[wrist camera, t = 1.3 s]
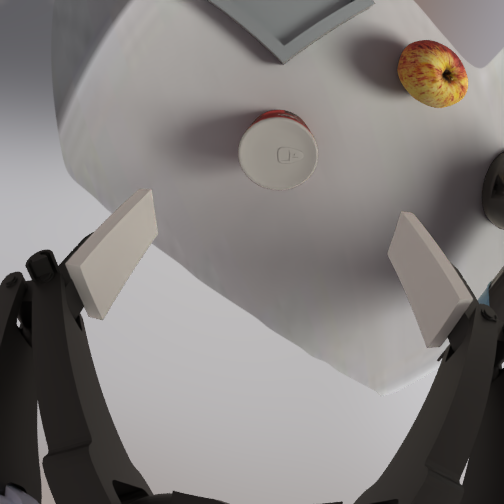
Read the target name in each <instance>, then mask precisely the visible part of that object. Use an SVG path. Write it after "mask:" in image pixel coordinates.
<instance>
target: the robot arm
mask: <svg viewBox="0 0 504 504" xmlns="http://www.w3.org/2000/svg"><path fill="white" fill-rule="evenodd" d="M482 202H483V208H484V212H485V214H486V216H487V218H488V219H489V220H490V221H491V222H492V223H493V224H494V225H495V226H496V227H498V228H500V229H503V230H504V152H503V153H502V154H500V155H499V156H498V157H497V158H496V159H495V160H494V161H493V163H492V164H491V166H490V168H489V170H488V172H487V175H486V178H485V181H484V185H483V193H482ZM157 235H158V230H157V224H156V217H155V210H154V203H153V195H152V189H139V190H138V191H136V192H135V193H134V194H133V195H132V196H131V197H130V198H129V199H128V200H127V201H125V202H124V203H123V204H122V205H121V206H120V207H119V208H118V209H117V210H116V211H115V212H114V213H113V214H112V215H111V216H110V217H109V218H108V219H107V220H106V221H105V222H104V223H103V224H102V225H101V226H100V227H99V228H98V229H97V230H96V231H95V232H93V233H91V234H89V235H88V236H86V237H85V238H84V239H83V240H82V241H81V242H80V243H79V244H78V246H76V247H75V248H74V249H73V251H71V253H70V254H69V255H68V256H67V257H66V258H65V259H64V260H63V261H62V263H61V264H60V265H59V266H58V265H57V262H56V260H55V257H54V254H53V252H52V251H51V250H42V251H39V252H37V253H35V254H34V255H32V256H31V257H30V258H29V259H28V260H27V262H26V268H27V270H28V272H29V274H30V276H31V278H32V280H31V281H25V279H24V277H23V275H22V273H21V272H14V273H10V274H9V275H8V276H6V278H5V279H4V280H3V281H2V283H1V285H0V504H41V499H42V495H41V477H40V467H39V456H38V439H37V401H38V404H39V409H40V415H41V419H42V424H43V429H44V432H45V437H46V441H47V444H48V450H49V451H48V454H47V455H46V456H45V457H44V458H43V463H42V464H43V469H44V473H45V476H46V479H47V482H48V485H49V487H50V490H51V493H52V495H53V498H54V500H55V503H56V504H228V503H226V502H223V501H219V500H215V499H209V498H204V497H198V496H193V495H189V494H184V493H180V492H175V491H173V493H172V494H170V493H169V494H168V493H167V494H157V495H153V493H152V491H151V490H150V488H149V486H148V485H147V483H146V481H145V480H144V478H143V477H142V475H141V474H140V473H139V471H138V470H137V469H136V468H135V467H134V466H133V464H132V463H131V461H130V459H129V457H128V455H127V453H126V451H125V449H124V446H123V444H122V442H121V440H120V437H119V435H118V433H117V430H116V428H115V426H114V423H113V421H112V418H111V415H110V413H109V410H108V407H107V405H106V402H105V399H104V397H103V393H102V390H101V387H100V384H99V381H98V378H97V374H96V371H95V368H94V364H93V360H92V357H91V353H90V349H89V345H88V340H87V336H86V332H85V327H84V322H83V318H82V316H81V314H80V312H81V311H82V309H83V307H84V308H85V310H86V312H87V314H88V316H89V317H92V318H96V319H100V320H103V319H104V318H105V316H106V314H107V313H108V311H109V309H110V307H111V306H112V304H113V302H114V301H115V299H116V297H117V296H118V294H119V293H120V291H121V289H122V288H123V286H124V284H125V283H126V281H127V280H128V278H129V276H130V275H131V273H132V272H133V270H134V269H135V267H136V266H137V264H138V263H139V261H140V259H141V258H142V257H143V255H144V254H145V252H146V251H147V249H148V248H149V246H150V245H151V243H152V242H153V240H154V239H155V238H156V236H157ZM387 255H388V257H389V259H390V261H391V263H392V265H393V267H394V269H395V271H396V273H397V275H398V278H399V280H400V282H401V284H402V286H403V289H404V291H405V293H406V295H407V298H408V300H409V303H410V305H411V307H412V310H413V312H414V315H415V317H416V320H417V322H418V325H419V327H420V330H421V333H422V335H423V338H424V341H425V344H426V347H427V348H432V347H440V346H441V345H442V344H443V343H444V341H445V340H446V339H447V337H448V339H449V342H450V344H449V346H448V347H447V348H446V350H445V351H444V352H443V353H442V354H441V356H440V357H439V358H438V360H437V361H440V360H441V358H443V359H442V362H441V364H440V367H439V369H438V372H437V375H436V377H435V379H434V382H433V384H432V386H431V389H430V391H429V394H428V396H427V398H426V400H425V402H424V404H423V406H422V408H421V410H420V412H419V414H418V416H417V418H416V420H415V422H414V424H413V426H412V427H411V429H410V431H409V433H408V435H407V436H406V438H405V440H404V441H403V443H402V445H401V447H400V448H399V450H398V451H397V453H396V455H395V456H394V458H393V459H392V461H391V462H390V464H389V465H388V467H387V468H386V470H385V471H384V472H383V474H382V475H381V477H380V478H379V480H378V481H377V482H376V483H375V484H374V485H372V486H371V487H370V488H369V489H367V490H366V491H365V492H364V493H363V494H362V495H361V496H360V497H359V498H358V499H357V500H356V501H355V503H354V504H504V368H503V369H502V363H503V362H504V266H503V268H502V269H501V270H500V271H499V273H498V274H497V275H496V277H495V278H494V279H493V280H492V281H491V282H490V283H489V284H488V286H487V288H486V290H485V291H484V292H483V294H482V295H481V296H480V298H479V299H478V301H477V299H476V297H475V296H474V294H473V292H472V291H471V289H470V287H469V286H468V285H467V283H466V281H465V280H464V279H463V276H462V275H461V273H460V272H459V270H458V269H457V268H456V267H455V266H454V265H453V264H451V263H450V262H449V260H448V259H447V257H446V256H445V254H444V253H443V252H442V250H441V249H440V247H439V246H438V245H437V243H436V242H435V241H434V239H433V238H432V237H431V235H430V234H429V233H428V231H427V230H426V229H425V228H424V226H423V225H422V224H421V222H420V221H419V220H418V219H417V218H416V216H415V215H414V214H413V213H410V212H404V211H401V213H400V216H399V220H398V223H397V226H396V229H395V232H394V235H393V238H392V241H391V244H390V247H389V250H388V253H387ZM17 318H18V320H19V321H20V323H21V324H20V327H18V326H17V324H16V323H17ZM468 458H469V460H468ZM467 461H468V465H467V469H466V473H465V477H464V481H463V485H461V484H460V482H459V480H460V477H461V475H462V472H463V470H464V468H465V466H466V463H467ZM342 503H343V502H334V503H325V504H342Z"/></svg>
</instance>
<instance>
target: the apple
mask: <svg viewBox="0 0 504 504" xmlns="http://www.w3.org/2000/svg"><path fill="white" fill-rule="evenodd" d="M397 71H398V76H399V78H400V81H401V83H402V85H403V86H404V88H405V89H406V90H407V91H408V92H409V94H410V95H411V96H412V97H414V98H415V99H416V100H418V101H420V102H421V103H423V104H426V105H428V106H431V107H435V108H442V107H447V106H450V105H453V104H455V103H457V102H459V101H460V100H461V99H463V97H464V96H465V94H466V92H467V89H468V78H467V74H466V71H465V68H464V66H463V64H462V62H461V60H460V59H459V58H458V56H457V55H456V54H455V53H454V52H453V51H452V50H451V49H449V48H448V47H446V46H444V45H442V44H440V43H438V42H435V41H430V40H422V41H417V42H413V43H411V44H409V45H408V46H407V47H406V48H405V49H404V50H403V52H402V54H401V56H400V60H399V63H398V68H397Z"/></svg>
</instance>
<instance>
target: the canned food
mask: <svg viewBox="0 0 504 504" xmlns="http://www.w3.org/2000/svg"><path fill="white" fill-rule="evenodd" d="M238 158H239V163H240V166H241V168H242V170H243V172H244V173H245V175H246V176H247V177H248V178H249V179H250V180H251V181H253V182H254V183H256V184H257V185H259V186H261V187H263V188H267V189H271V190H287V189H291V188H294V187H296V186H299V185H301V184H302V183H303V182H305V181H306V180H307V179H308V178H309V177H310V176H311V175H312V173H313V172H314V170H315V168H316V165H317V161H318V147H317V144H316V141H315V139H314V137H313V135H312V133H311V132H310V130H309V129H308V127H307V126H306V124H305V123H304V122H303V121H302V119H301V118H300V117H298V116H297V115H295V114H293V113H291V112H288V111H285V110H273V111H269V112H266V113H264V114H262V115H261V116H259V117H258V118H257V119H256V120H255V121H254V122H253V123H252V125H251V126H250V127H249V128H248V129H247V130H246V132H245V133H244V135H243V136H242V139H241V141H240V144H239V148H238Z"/></svg>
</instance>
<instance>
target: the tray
mask: <svg viewBox="0 0 504 504" xmlns="http://www.w3.org/2000/svg"><path fill="white" fill-rule="evenodd" d="M207 1H209V2H210V3H212V4H213V5H214V6H216V7H217V8H219V9H220V10H221V11H223V12H224V13H225V14H226V15H228V16H229V17H230V18H232V19H233V20H234V21H235V22H237V23H238V24H239V25H240V26H241V27H243V28H244V29H245V30H246V31H247V32H249V33H250V34H251V35H252V36H253V37H254V38H255V39H257V40H258V41H259V42H260V43H261V44H262V45H263V46H264V47H265V48H266V49H268V50H269V51H270V52H271V53H272V54H273V55H274V56H275V57H276V58H277V59H278V60H279V61H280V62H281V63H282V64H283V65H284V64H285V63H286V62H288V61H289V60H290V59H292V58H293V57H294V56H296V55H297V54H298V53H300V52H301V51H302V50H304V49H305V48H307V47H308V46H309V45H311V44H312V43H314V42H315V41H317V40H318V39H320V38H321V37H323V36H324V35H326V34H327V33H329V32H330V31H332V30H333V29H335V28H337V27H338V26H340V25H341V24H343V23H345V22H346V21H348V20H350V19H351V18H353V17H355V16H356V15H358V14H360V13H362V12H363V11H365V10H367V9H369V8H370V7H371V6H373V5H374V4H375V2H374V1H373V0H207Z"/></svg>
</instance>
